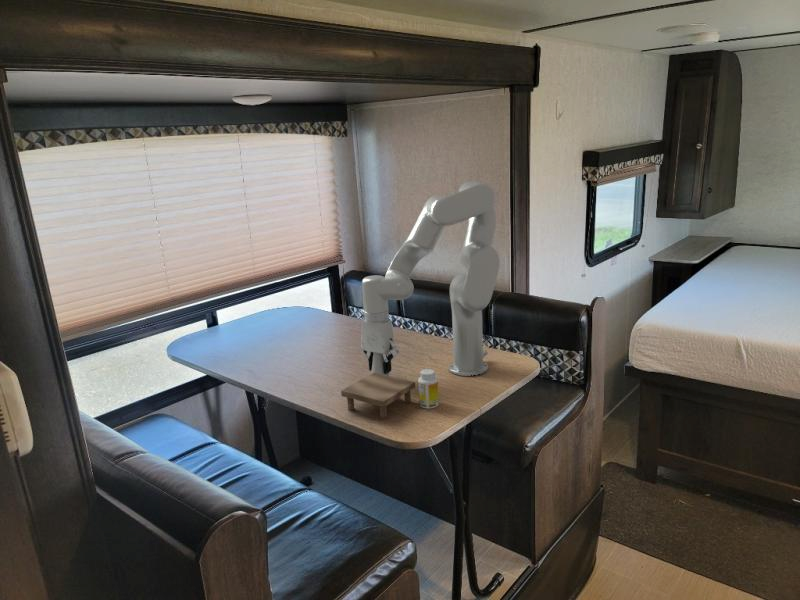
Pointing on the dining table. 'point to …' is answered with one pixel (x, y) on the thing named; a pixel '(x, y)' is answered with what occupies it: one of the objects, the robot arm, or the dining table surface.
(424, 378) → the supplement bottle
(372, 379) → the small wooden table
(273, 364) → the dining table surface
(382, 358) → the salt shaker
